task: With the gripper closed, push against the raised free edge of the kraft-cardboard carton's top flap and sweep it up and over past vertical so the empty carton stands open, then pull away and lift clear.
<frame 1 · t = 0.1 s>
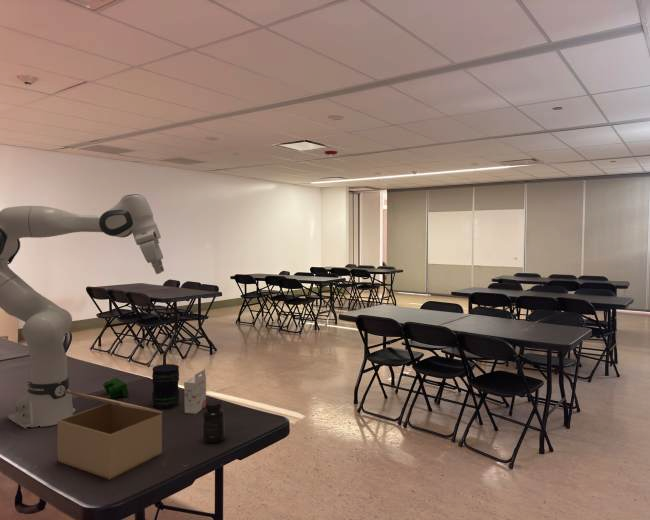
hand: (160, 272, 173), 52 cm above the table, tool tilted 20°, fingers open, 8 cm apart
flap: (113, 401, 138), point 16 cm above the table, hinge at 25.0°
supplement bottle: (213, 440, 151), on the table
ink cartridge box: (195, 410, 178), on the table
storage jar: (165, 406, 182), on the table
green bumpy lump: (115, 396, 193), on the table
carton: (111, 457, 138), on the table
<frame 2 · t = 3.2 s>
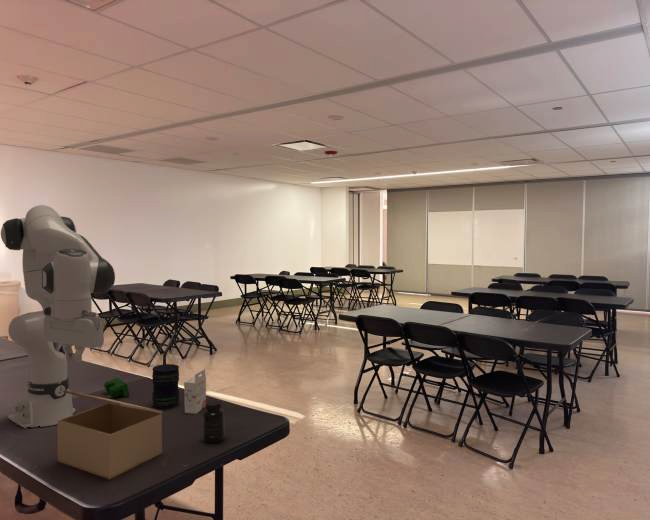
hand: (73, 360, 127), 31 cm above the table, tool pointing down, fingers closed
nothing on the table moved.
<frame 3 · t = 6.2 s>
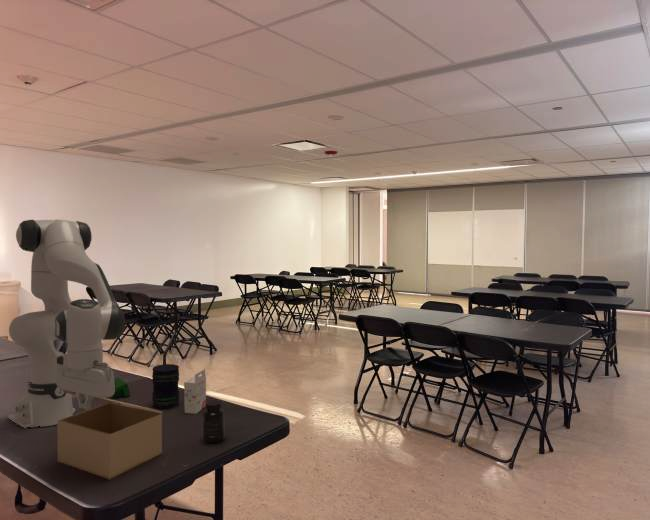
hand: (85, 408, 130), 17 cm above the table, tool pointing down, fingers closed, pressing on flap
flap: (113, 401, 138), point 16 cm above the table, hinge at 25.3°, touching gripper
everything else where it was.
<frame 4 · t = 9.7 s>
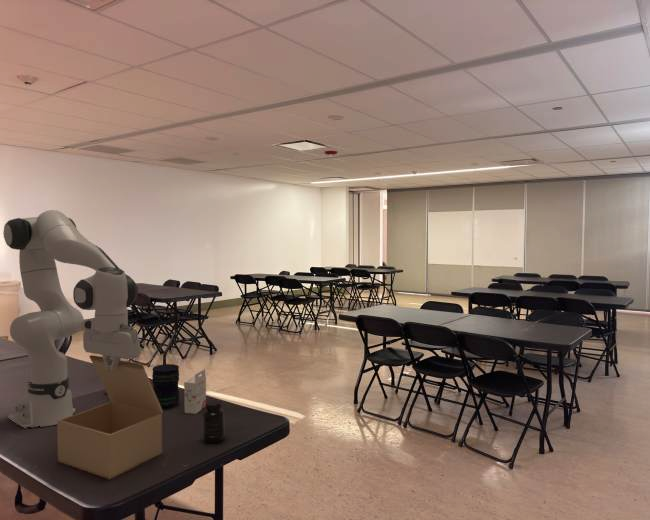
hand: (111, 370, 137), 26 cm above the table, tool pointing down, fingers closed, pressing on flap
flap: (126, 383, 142), point 20 cm above the table, hinge at 64.6°, touching gripper
everything else where it was.
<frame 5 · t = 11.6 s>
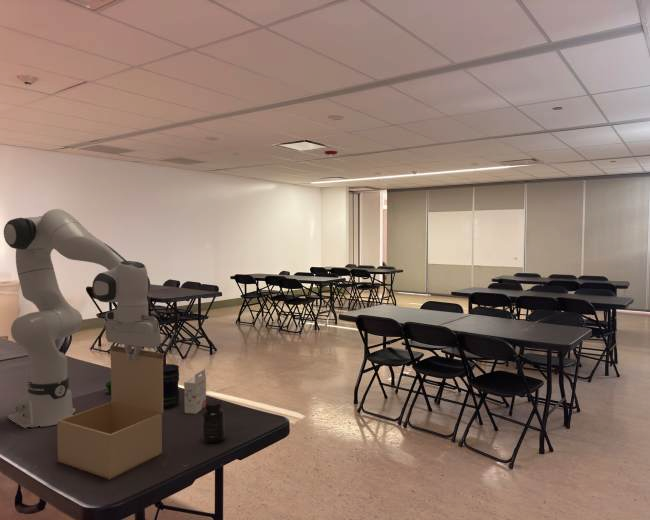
hand: (133, 359, 144), 27 cm above the table, tool pointing down, fingers closed, pressing on flap
flap: (136, 378, 145), point 21 cm above the table, hinge at 89.6°, touching gripper
everything else where it was.
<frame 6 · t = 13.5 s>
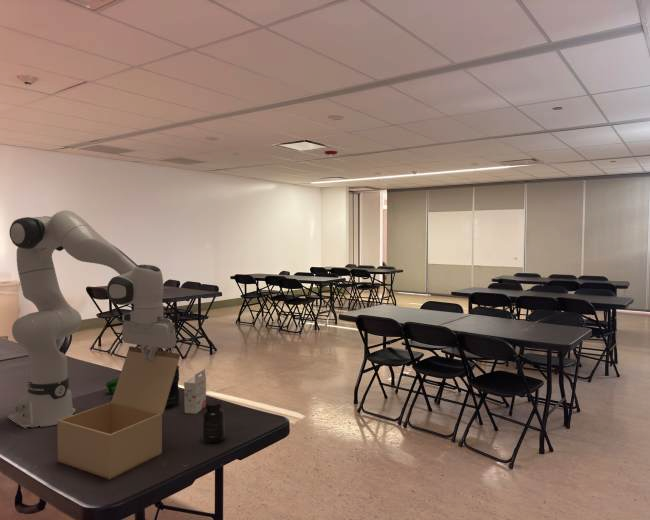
hand: (149, 359, 150), 26 cm above the table, tool pointing down, fingers closed, pressing on flap
flap: (145, 378, 149), point 20 cm above the table, hinge at 113.6°, touching gripper
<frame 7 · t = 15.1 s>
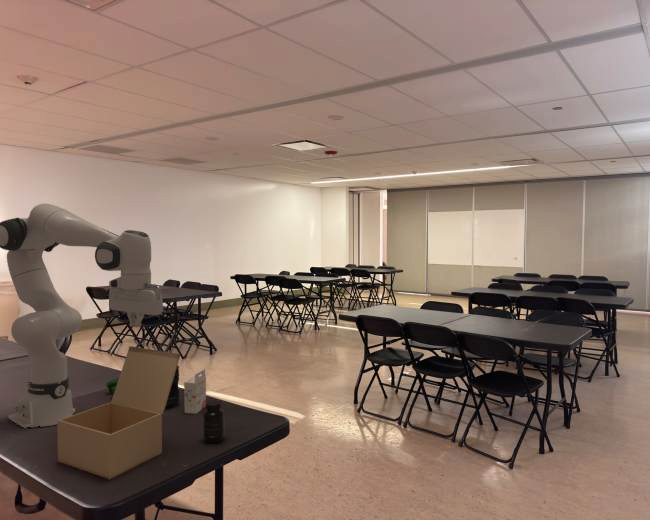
hand: (135, 326, 147), 37 cm above the table, tool pointing down, fingers closed
flap: (145, 378, 149), point 20 cm above the table, hinge at 113.6°
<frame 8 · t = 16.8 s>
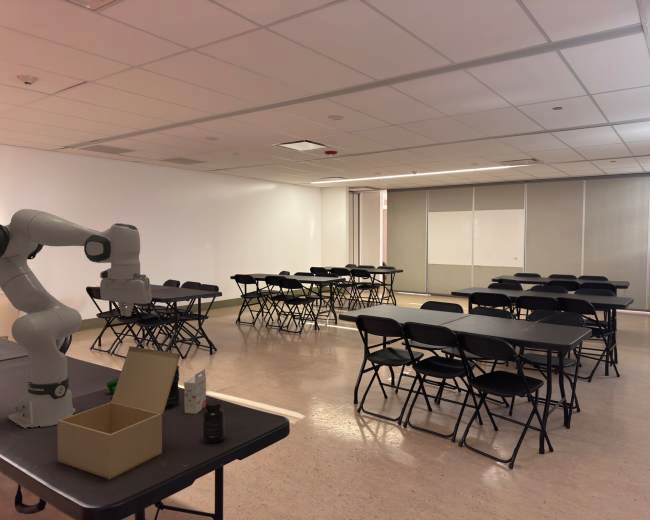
hand: (126, 315, 153), 39 cm above the table, tool pointing down, fingers closed
at the end: flap at +114° (first picture: +25°); the gripper is holding nothing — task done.
